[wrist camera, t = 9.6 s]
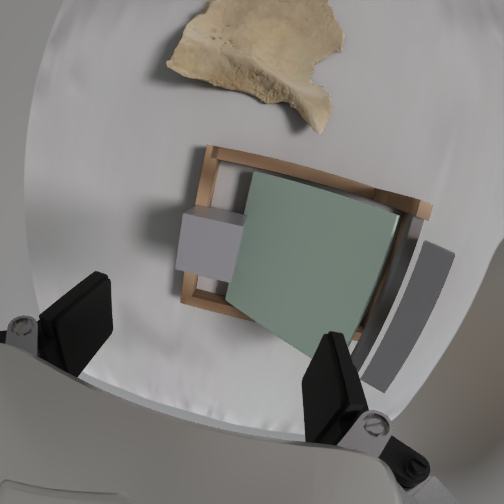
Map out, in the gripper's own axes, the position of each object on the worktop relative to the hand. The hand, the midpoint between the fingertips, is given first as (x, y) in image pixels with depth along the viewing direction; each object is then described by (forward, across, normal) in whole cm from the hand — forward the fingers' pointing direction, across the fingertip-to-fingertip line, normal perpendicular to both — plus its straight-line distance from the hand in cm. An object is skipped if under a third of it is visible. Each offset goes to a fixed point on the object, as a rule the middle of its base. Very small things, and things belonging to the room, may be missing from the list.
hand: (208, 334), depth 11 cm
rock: (+20, +2, -19) cm, 28 cm away
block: (+14, 0, +1) cm, 15 cm away
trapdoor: (+12, -7, +1) cm, 15 cm away
